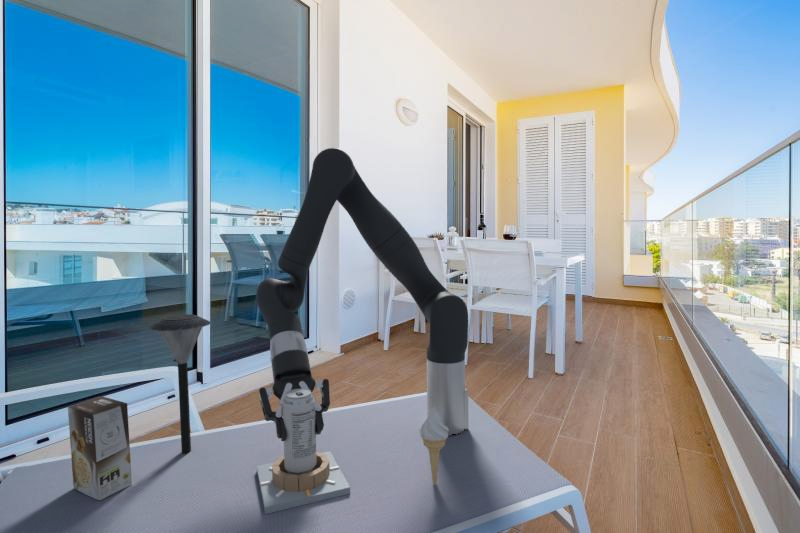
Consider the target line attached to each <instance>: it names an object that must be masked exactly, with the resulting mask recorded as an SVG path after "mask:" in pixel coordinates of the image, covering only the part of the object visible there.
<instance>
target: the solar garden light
mask: <svg viewBox="0 0 800 533" xmlns="http://www.w3.org/2000/svg"><path fill="white" fill-rule="evenodd" d="M210 324H211V325H212V322H211V321H210V320H208V319H205V318H203V317H202V316H199V315H196V314H186V313H185V314H177V315H176V314H175V315H168V316H165V317H163V318H162V319H159V321H157V322H155V323H154V324H152V325H150V326H149V327H148V329H149V330H150V331H156V332H159V333H160V336H161V337H162V338H163V340H164V341H165V343H166V345H167V347H168V349H169V351H170V352H171V354H172V356H173V358H174V359H175V361H176V363H177V373H178V375H177V376H178V398H179V421H180V423H179V424H180V443H181V444H180V445H181V446H180V447H181V453H182V454H188V453H190V452H191V451H192V444H191V442H192V439H191V423H190V421H191V420H190V419H191V418H190V399H189V398H190V395H189V393H190V392H189V373H188V371H189V370H188V361H189V360H190V357H191V355H192V352H193V350H194V347H195V345H196V343H197V341H198V338H199V336H200V333H201V331H202V329H203V327H207V326H209V325H210Z"/></svg>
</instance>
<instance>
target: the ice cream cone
mask: <svg viewBox="0 0 800 533" xmlns="http://www.w3.org/2000/svg"><path fill="white" fill-rule="evenodd" d="M444 424H445V423H444V422H443V420H442V419H441V418H440V417H439V415H438V413H437V411H436V409H435V407H434V408H433V410H432V412H431V414H430V415H429V416H428V418H427V417H426V419H425V421H424V422H423V424H422V425H421V426H420V428H419V434H420V437H421V439H422V442H423V446H424V447H425V448H427V450H428V453H429V462H430V470H431V476H432V477H431V478H432V484H433V485H436V484H437V483H438V472H439V463H440V451H441V449H443V447H445V446H446V441H447V439H448V438H449V435H448V433H447V432H449V429H448V427H446V426H445V425H444Z"/></svg>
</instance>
